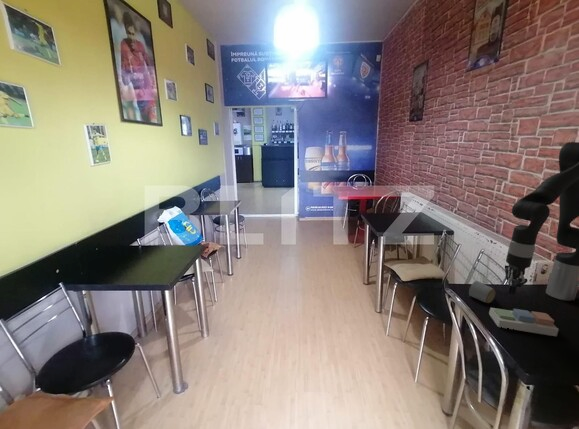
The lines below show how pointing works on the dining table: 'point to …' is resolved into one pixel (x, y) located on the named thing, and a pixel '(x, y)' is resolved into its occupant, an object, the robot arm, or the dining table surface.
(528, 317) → the slate button
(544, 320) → the terracotta button
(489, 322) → the dining table surface
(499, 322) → the console
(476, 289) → the grey cylinder
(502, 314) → the green button
